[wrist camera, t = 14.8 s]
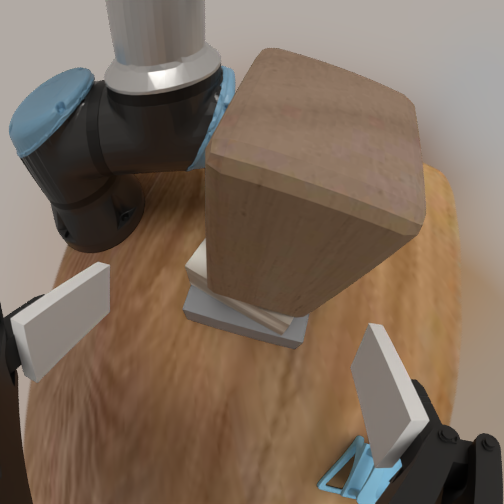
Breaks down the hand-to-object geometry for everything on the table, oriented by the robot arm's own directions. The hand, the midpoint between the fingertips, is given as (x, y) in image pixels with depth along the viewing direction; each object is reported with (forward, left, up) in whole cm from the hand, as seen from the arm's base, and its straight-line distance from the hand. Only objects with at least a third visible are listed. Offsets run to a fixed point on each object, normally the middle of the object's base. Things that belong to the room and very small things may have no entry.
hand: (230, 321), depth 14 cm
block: (-8, +6, -14) cm, 17 cm away
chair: (+18, +11, -24) cm, 32 cm away
